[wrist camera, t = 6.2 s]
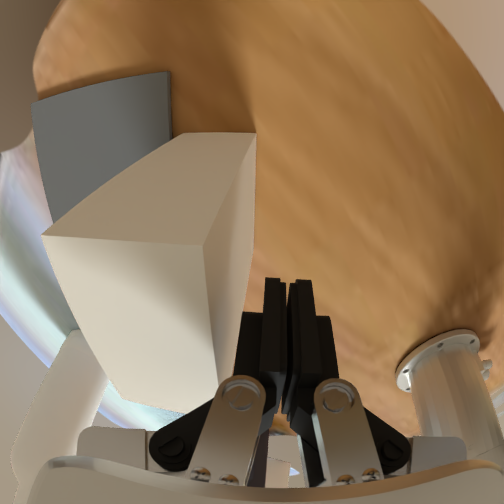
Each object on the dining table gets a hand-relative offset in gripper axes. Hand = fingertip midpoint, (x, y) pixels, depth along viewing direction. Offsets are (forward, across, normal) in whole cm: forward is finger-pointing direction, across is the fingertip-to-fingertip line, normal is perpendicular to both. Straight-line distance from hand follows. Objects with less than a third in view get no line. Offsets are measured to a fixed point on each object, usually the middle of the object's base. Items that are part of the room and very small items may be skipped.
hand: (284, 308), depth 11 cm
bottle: (+12, +23, +22) cm, 34 cm away
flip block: (+11, +4, 0) cm, 12 cm away
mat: (+11, +14, 0) cm, 18 cm away
